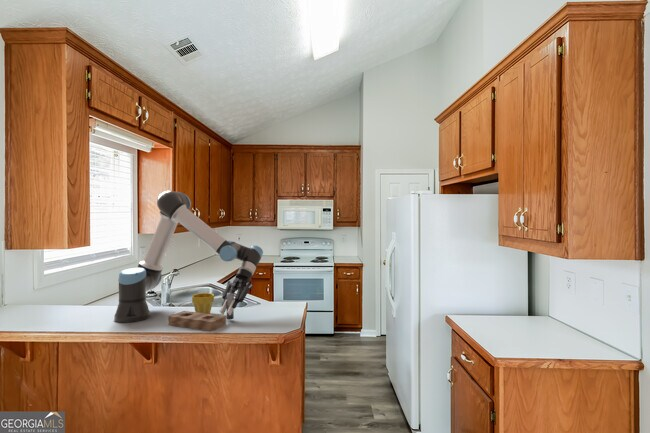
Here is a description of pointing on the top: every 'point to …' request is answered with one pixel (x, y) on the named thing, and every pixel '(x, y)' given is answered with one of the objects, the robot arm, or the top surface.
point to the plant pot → (203, 302)
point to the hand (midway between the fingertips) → (225, 313)
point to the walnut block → (197, 320)
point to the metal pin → (229, 300)
